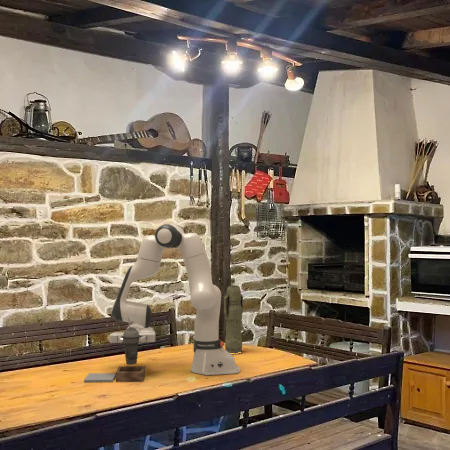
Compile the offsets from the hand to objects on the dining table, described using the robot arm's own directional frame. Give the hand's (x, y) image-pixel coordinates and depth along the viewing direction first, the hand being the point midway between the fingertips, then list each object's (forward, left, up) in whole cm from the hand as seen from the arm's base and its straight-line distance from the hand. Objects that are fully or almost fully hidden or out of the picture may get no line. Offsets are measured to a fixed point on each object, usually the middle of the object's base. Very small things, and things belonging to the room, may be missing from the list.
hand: (131, 340), depth 263 cm
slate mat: (+13, -1, -16) cm, 21 cm away
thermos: (-48, -54, -17) cm, 74 cm away
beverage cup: (0, -1, -10) cm, 10 cm away
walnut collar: (0, -1, -17) cm, 17 cm away
